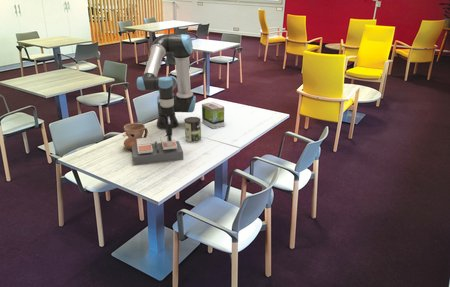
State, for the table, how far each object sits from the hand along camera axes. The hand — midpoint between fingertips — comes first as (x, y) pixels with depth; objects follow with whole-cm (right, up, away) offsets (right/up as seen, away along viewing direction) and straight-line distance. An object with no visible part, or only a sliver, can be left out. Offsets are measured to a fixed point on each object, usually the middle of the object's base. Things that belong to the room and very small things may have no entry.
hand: (169, 145), depth 210 cm
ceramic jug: (-23, -1, +19) cm, 30 cm away
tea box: (+23, +14, +55) cm, 61 cm away
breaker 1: (-15, 0, +2) cm, 15 cm away
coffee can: (+11, +3, +30) cm, 32 cm away
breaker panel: (-8, -7, +7) cm, 13 cm away
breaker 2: (-1, +2, +5) cm, 6 cm away
